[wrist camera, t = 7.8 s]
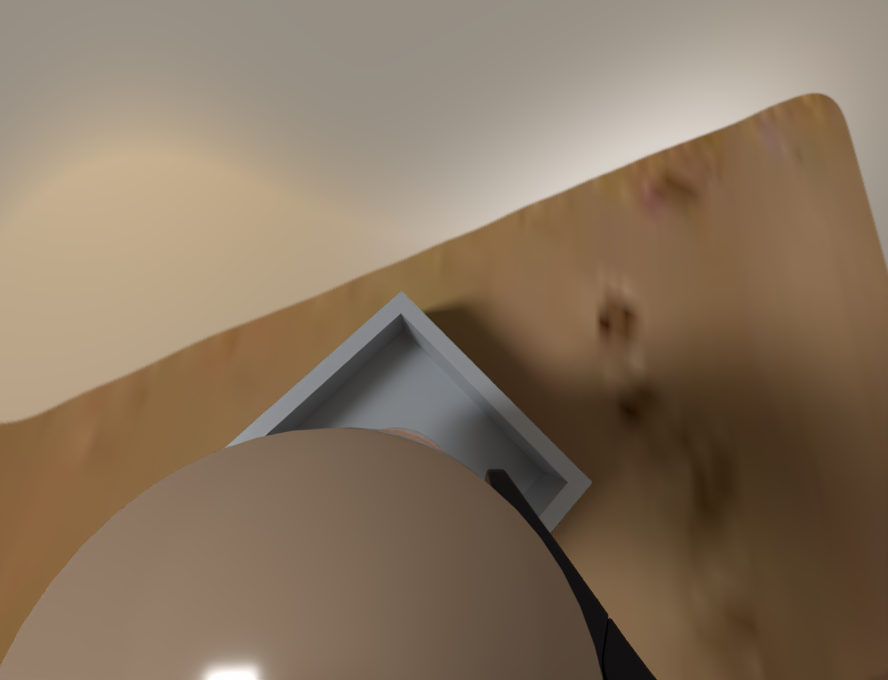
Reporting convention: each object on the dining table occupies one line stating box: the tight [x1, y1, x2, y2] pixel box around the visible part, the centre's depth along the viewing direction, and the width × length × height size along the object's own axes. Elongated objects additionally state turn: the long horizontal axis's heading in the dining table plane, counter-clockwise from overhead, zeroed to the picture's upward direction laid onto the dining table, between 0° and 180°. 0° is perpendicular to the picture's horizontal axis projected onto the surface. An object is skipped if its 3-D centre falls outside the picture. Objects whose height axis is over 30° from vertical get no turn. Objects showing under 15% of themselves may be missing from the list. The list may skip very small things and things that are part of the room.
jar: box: [0, 427, 603, 680], centre depth 9 cm, size 5×5×12 cm
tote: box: [225, 291, 592, 533], centre depth 18 cm, size 13×13×4 cm
